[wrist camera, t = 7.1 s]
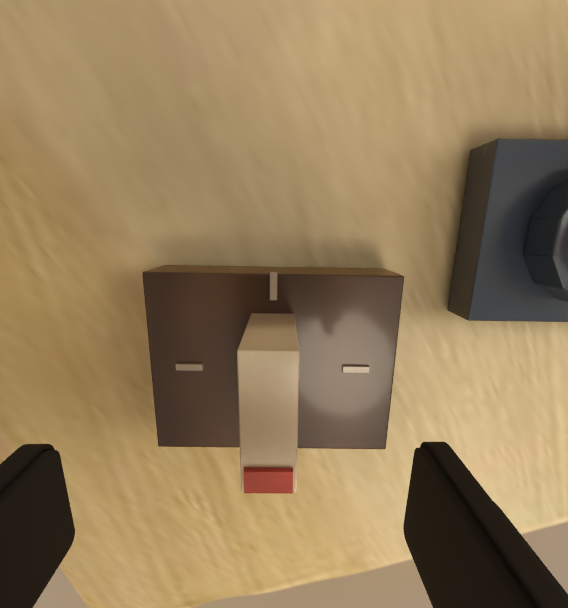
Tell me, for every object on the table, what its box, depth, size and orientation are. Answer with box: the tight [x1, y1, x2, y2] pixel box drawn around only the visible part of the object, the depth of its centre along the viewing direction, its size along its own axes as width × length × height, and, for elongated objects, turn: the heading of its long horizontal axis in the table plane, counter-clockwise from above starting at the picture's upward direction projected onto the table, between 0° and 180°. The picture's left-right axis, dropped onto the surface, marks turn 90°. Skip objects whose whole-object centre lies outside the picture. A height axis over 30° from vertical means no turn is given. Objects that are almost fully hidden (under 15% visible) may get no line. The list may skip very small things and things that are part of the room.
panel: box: [143, 265, 404, 449], centre depth 18 cm, size 13×10×3 cm
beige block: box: [237, 313, 299, 493], centre depth 14 cm, size 6×2×5 cm, turn 0°
